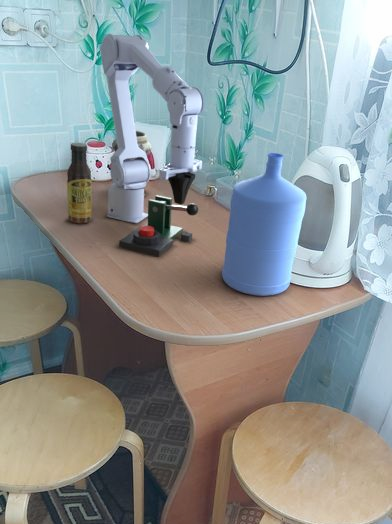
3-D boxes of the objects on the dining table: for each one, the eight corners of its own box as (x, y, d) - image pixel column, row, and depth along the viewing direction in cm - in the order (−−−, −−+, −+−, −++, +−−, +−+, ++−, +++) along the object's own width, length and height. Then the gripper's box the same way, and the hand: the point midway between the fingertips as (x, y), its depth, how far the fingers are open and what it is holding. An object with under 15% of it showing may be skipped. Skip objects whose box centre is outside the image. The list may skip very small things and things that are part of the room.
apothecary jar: (148, 200, 158) (150, 139, 148) (108, 197, 158) (108, 135, 147) (151, 188, 168) (153, 130, 158) (114, 185, 168) (114, 126, 157)
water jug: (271, 305, 109) (297, 171, 94) (208, 282, 116) (222, 153, 100) (299, 279, 121) (326, 156, 105) (241, 260, 127) (258, 141, 111)
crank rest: (180, 240, 134) (180, 234, 133) (183, 237, 136) (183, 231, 135) (188, 242, 134) (189, 236, 133) (191, 239, 135) (192, 233, 134)
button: (136, 235, 127) (136, 228, 126) (143, 231, 129) (143, 224, 128) (149, 238, 126) (150, 232, 125) (156, 234, 128) (156, 227, 127)
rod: (199, 214, 131) (199, 202, 130) (195, 217, 129) (195, 205, 127) (157, 209, 135) (157, 198, 134) (152, 212, 133) (152, 201, 131)
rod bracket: (182, 232, 139) (185, 198, 134) (168, 243, 132) (170, 208, 127) (149, 224, 142) (150, 191, 137) (134, 235, 135) (134, 200, 130)
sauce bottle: (71, 225, 137) (67, 147, 125) (65, 217, 141) (60, 141, 130) (95, 223, 139) (93, 146, 128) (88, 215, 144) (85, 140, 133)
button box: (119, 247, 128) (119, 233, 126) (134, 236, 134) (134, 223, 132) (159, 257, 125) (159, 243, 123) (172, 245, 131) (173, 232, 129)
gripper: (178, 154, 113) (174, 214, 120) (214, 144, 123) (208, 200, 130) (153, 147, 116) (151, 206, 123) (190, 138, 126) (186, 193, 133)
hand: (179, 203), depth 127 cm, fingers closed
